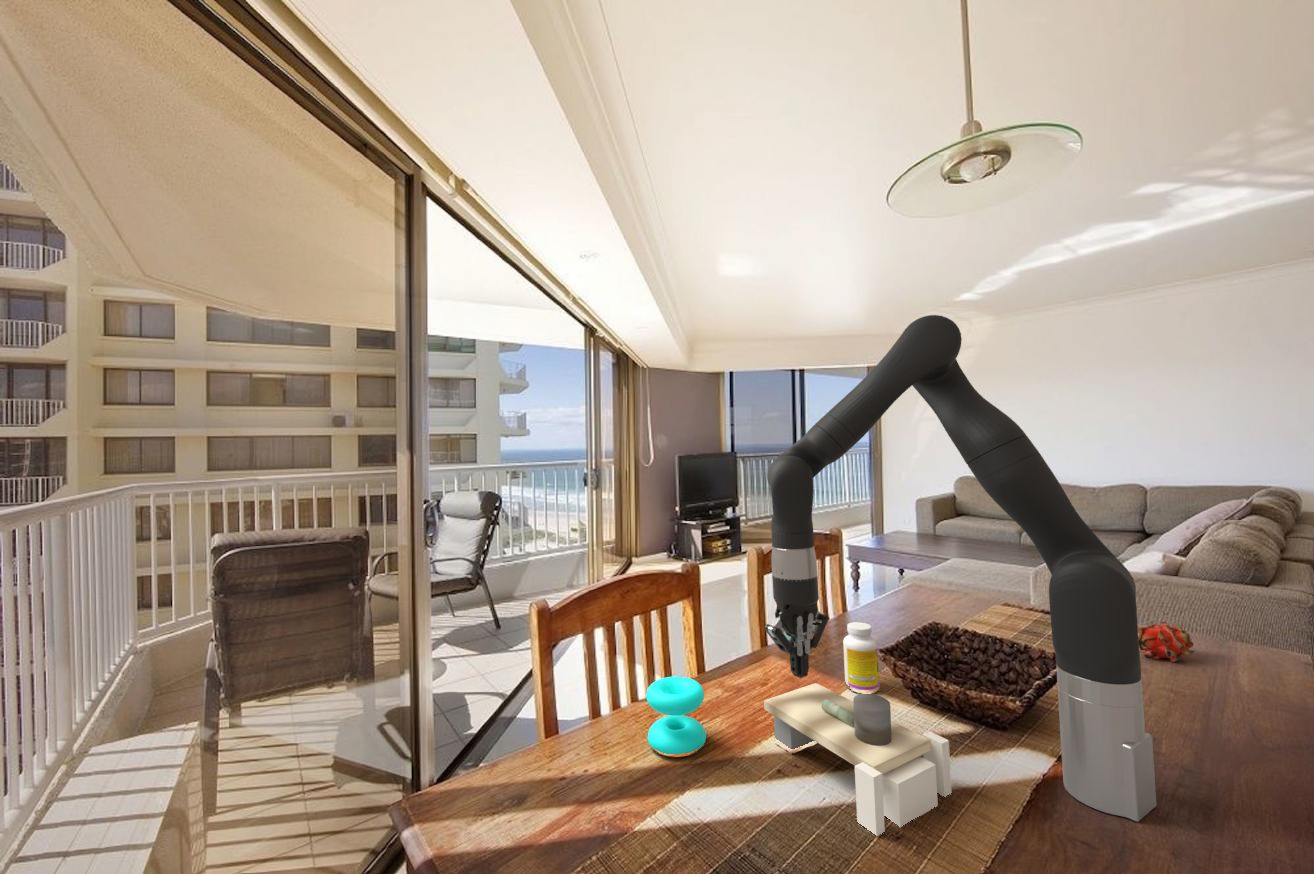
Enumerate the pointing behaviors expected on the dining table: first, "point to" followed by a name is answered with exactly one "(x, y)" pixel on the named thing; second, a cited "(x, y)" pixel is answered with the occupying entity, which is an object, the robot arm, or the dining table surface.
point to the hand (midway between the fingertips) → (800, 675)
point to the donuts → (676, 715)
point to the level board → (849, 726)
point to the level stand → (891, 782)
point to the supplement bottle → (860, 657)
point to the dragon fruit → (1164, 641)
